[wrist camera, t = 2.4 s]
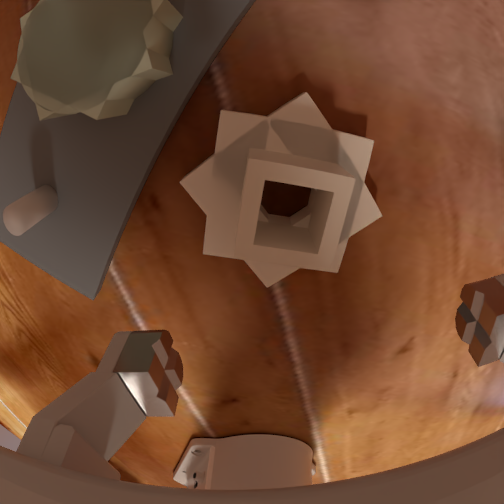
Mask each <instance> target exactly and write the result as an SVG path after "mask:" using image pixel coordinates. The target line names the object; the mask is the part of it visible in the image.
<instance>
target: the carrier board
mask: <svg viewBox="0 0 504 504" xmlns="http://www.w3.org/2000/svg"><path fill="white" fill-rule="evenodd" d="M255 1H256V0H40V1H39V2H38V4H37V5H36V6H35V8H34V9H32V10H31V11H30V12H28V13H27V14H25V15H24V16H23V17H21V18H20V23H21V31H22V34H21V37H20V41H19V46H18V54H17V63H16V65H15V68H14V70H13V73H12V75H11V79H13V80H15V81H17V84H16V87H15V90H14V93H13V96H12V99H11V102H10V105H9V108H8V111H7V114H6V118H5V121H4V124H3V128H2V132H1V135H0V241H1V242H2V243H4V244H5V245H6V246H8V247H9V248H11V249H12V250H14V251H15V252H16V253H18V254H19V255H21V256H22V257H24V258H25V259H27V260H28V261H30V262H31V263H33V264H34V265H36V266H37V267H39V268H41V269H42V270H44V271H45V272H47V273H48V274H50V275H52V276H53V277H55V278H56V279H58V280H60V281H61V282H63V283H65V284H66V285H68V286H70V287H71V288H73V289H75V290H76V291H78V292H80V293H81V294H83V295H85V296H87V297H88V298H90V299H92V300H94V299H95V297H96V296H97V294H98V293H99V291H100V290H101V287H102V284H103V281H104V279H105V276H106V273H107V271H108V268H109V265H110V263H111V260H112V258H113V255H114V253H115V250H116V248H117V245H118V243H119V240H120V238H121V235H122V233H123V231H124V228H125V226H126V224H127V221H128V219H129V217H130V215H131V212H132V210H133V208H134V206H135V203H136V201H137V199H138V197H139V195H140V193H141V190H142V188H143V186H144V184H145V182H146V180H147V178H148V176H149V174H150V172H151V170H152V168H153V166H154V164H155V162H156V160H157V158H158V156H159V154H160V152H161V150H162V148H163V146H164V144H165V142H166V140H167V139H168V137H169V135H170V133H171V131H172V129H173V127H174V126H175V124H176V122H177V120H178V118H179V117H180V115H181V113H182V111H183V110H184V108H185V106H186V104H187V103H188V101H189V99H190V98H191V96H192V94H193V93H194V91H195V89H196V88H197V86H198V84H199V83H200V81H201V79H202V78H203V76H204V75H205V73H206V71H207V70H208V68H209V67H210V65H211V63H212V62H213V60H214V59H215V57H216V56H217V54H218V53H219V51H220V50H221V48H222V47H223V45H224V44H225V42H226V41H227V39H228V38H229V37H230V35H231V34H232V32H233V31H234V29H235V28H236V27H237V25H238V24H239V22H240V21H241V20H242V18H243V17H244V15H245V14H246V13H247V11H248V10H249V9H250V7H251V6H252V5H253V3H254V2H255Z"/></svg>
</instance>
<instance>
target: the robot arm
mask: <svg viewBox="0 0 504 504" xmlns="http://www.w3.org/2000/svg"><path fill="white" fill-rule="evenodd" d="M460 298H461V300H462V301H463V302H462V304H461V305H460V306H459V308H458V309H457V313H456V317H455V322H456V330H457V332H458V335H459V337H460V338H461V340H462V341H464V342H466V343H468V344H469V350H468V351H469V353H470V354H471V356H472V358H473V359H474V361H475V363H476V364H477V366H478V367H479V366H482V365H485V364H488V363H491V362H494V361H497V360H499V359H500V361H501V362H503V363H504V274H501V275H497V276H494V277H491V278H488V279H484V280H480V281H477V282H473V283H469V284H465V285H464V287H463V288H462V291H461V295H460ZM172 344H173V339H172V337H171V335H170V332H169V331H167V330H147V331H126V332H117V333H116V334H114V336H113V338H112V340H111V342H110V344H109V346H108V348H107V350H106V352H105V354H104V356H103V358H102V360H101V362H100V364H99V366H98V368H97V370H96V372H91V373H89V374H88V375H87V376H86V377H84V378H83V379H82V380H80V381H79V382H78V383H76V384H75V385H74V386H72V387H71V388H70V389H69V390H67V391H66V392H65V393H63V394H62V395H61V396H59V397H58V398H57V399H55V400H54V401H53V402H52V403H50V404H49V405H48V406H46V407H45V408H44V409H42V410H41V411H40V412H38V413H37V414H36V415H35V416H33V418H32V420H31V422H30V424H29V426H28V428H27V430H26V432H25V434H24V436H23V438H22V440H21V442H20V445H19V447H18V449H17V451H16V452H15V451H12V450H10V449H7V448H5V447H2V446H0V504H504V428H502V429H500V430H498V431H496V432H494V433H492V434H490V435H487V436H485V437H483V438H481V439H478V440H476V441H474V442H471V443H469V444H466V445H464V446H462V447H459V448H456V449H454V450H451V451H448V452H446V453H443V454H440V455H437V456H434V457H431V458H428V459H425V460H422V461H419V462H416V463H412V464H409V465H406V466H402V467H398V468H395V469H391V470H387V471H383V472H379V473H374V474H370V475H366V476H361V477H356V478H351V479H345V480H340V481H334V482H327V483H320V484H313V485H312V475H314V474H315V473H316V467H315V465H314V464H313V463H312V458H313V451H312V449H311V448H310V447H309V446H308V445H307V444H305V443H304V442H302V441H299V440H296V439H293V438H289V437H284V436H278V435H265V434H252V435H240V436H233V437H227V438H221V439H211V438H195V439H192V440H191V441H190V443H189V445H188V447H187V449H186V451H185V452H184V454H183V456H182V458H181V460H180V462H179V464H178V466H177V468H176V469H175V471H174V474H173V479H174V480H175V481H177V482H179V483H181V484H183V485H185V486H187V488H175V487H165V486H155V485H147V484H140V483H133V482H127V481H121V480H120V478H121V475H120V473H119V471H118V470H116V469H115V468H114V467H113V466H112V465H111V464H110V463H109V462H108V461H109V459H110V458H111V457H112V456H113V455H114V454H115V453H116V452H117V451H118V449H119V448H120V447H121V446H122V445H123V444H124V443H125V442H126V440H127V439H128V438H129V437H130V436H131V435H132V434H133V433H134V431H135V430H136V429H137V428H138V427H139V426H140V425H141V423H142V422H143V421H144V420H145V419H146V416H175V412H176V407H177V403H178V398H179V397H178V395H177V393H176V391H175V390H177V389H178V388H179V387H180V386H181V385H182V380H183V364H182V360H181V357H180V355H179V352H177V351H176V350H174V349H173V348H172Z"/></svg>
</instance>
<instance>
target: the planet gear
mask: <svg viewBox="0 0 504 504" xmlns="http://www.w3.org/2000/svg"><path fill="white" fill-rule="evenodd" d="M373 144H374V140H371V139H368V138H366V137H362V136H358V135H354V134H350V133H346V132H342V131H338V130H334V129H332V128H331V127H330V125H329V124H328V122H327V121H326V119H325V118H324V116H323V115H322V113H321V112H320V110H319V109H318V107H317V106H316V104H315V103H314V101H313V100H312V99H311V97H310V96H309V94H308V93H307V92H303V93H301V94H300V95H298V96H297V97H295V98H293V99H292V100H290V101H289V102H287V103H286V104H284V105H283V106H281V107H280V108H278V109H277V110H275V111H274V112H272V113H271V114H269V115H268V116H264V115H258V114H251V113H244V112H237V111H230V110H221V112H220V119H219V126H218V132H217V139H216V147H215V153H214V154H213V155H211V156H210V157H209V158H207V159H206V160H205V161H203V162H202V163H201V164H200V165H198V166H197V167H196V168H194V169H193V170H192V171H191V172H189V173H188V174H187V175H185V176H184V177H183V179H182V180H181V181H180V182H179V183H180V184H181V185H182V186H183V187H184V189H185V190H186V191H187V192H188V193H189V195H190V196H191V197H192V198H193V200H194V201H195V202H196V203H197V204H198V206H199V207H200V208H201V209H202V210H203V212H204V213H205V214H206V215H207V219H206V228H205V237H204V247H203V254H206V255H212V256H219V257H226V258H233V259H240V260H244V261H245V262H246V263H247V265H248V266H249V267H250V268H251V269H252V271H253V272H254V273H255V274H256V275H257V277H258V278H259V279H260V280H261V281H262V283H263V284H264V285H265V286H266V287H267V288H268V287H269V286H271V285H273V284H274V283H276V282H278V281H279V280H281V279H283V278H284V277H286V276H288V275H289V274H291V273H293V272H294V271H296V270H298V269H299V268H305V269H312V270H319V271H327V272H334V273H338V271H339V268H340V264H341V261H342V258H343V255H344V252H345V248H346V245H347V242H348V238H349V237H350V236H352V235H354V234H355V233H357V232H358V231H360V230H361V229H363V228H365V227H366V226H368V225H369V224H371V223H372V222H374V221H375V220H377V219H378V218H380V217H382V214H381V212H380V210H379V208H378V206H377V205H376V203H375V201H374V199H373V197H372V195H371V194H370V192H369V190H368V188H367V186H366V185H365V183H364V181H365V177H366V173H367V169H368V165H369V161H370V157H371V152H372V148H373ZM265 180H269V181H275V182H281V183H287V184H292V185H298V186H304V187H309V188H311V192H310V196H309V201H308V205H307V206H306V207H304V208H303V209H301V210H300V211H298V212H297V213H295V214H293V215H292V216H290V217H286V216H279V215H273V214H268V213H267V211H266V210H265V209H264V207H263V206H262V205H261V199H262V193H263V188H264V182H265Z"/></svg>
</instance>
